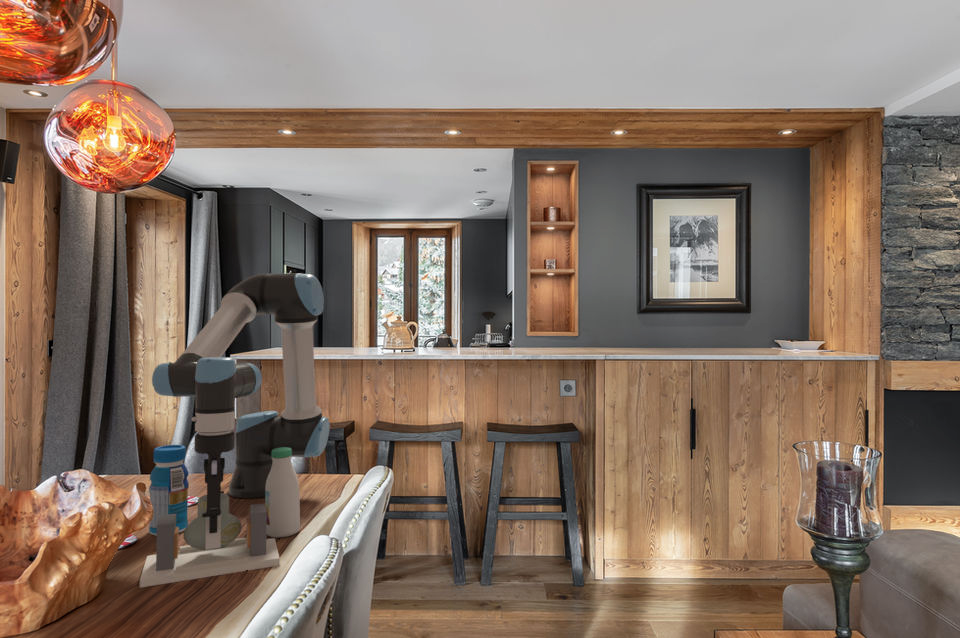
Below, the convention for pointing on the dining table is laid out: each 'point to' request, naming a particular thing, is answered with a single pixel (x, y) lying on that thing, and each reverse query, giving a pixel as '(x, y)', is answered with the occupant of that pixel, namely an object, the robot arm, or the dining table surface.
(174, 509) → the beverage bottle
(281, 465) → the milk bottle
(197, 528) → the air freshener
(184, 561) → the rail
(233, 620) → the dining table surface
